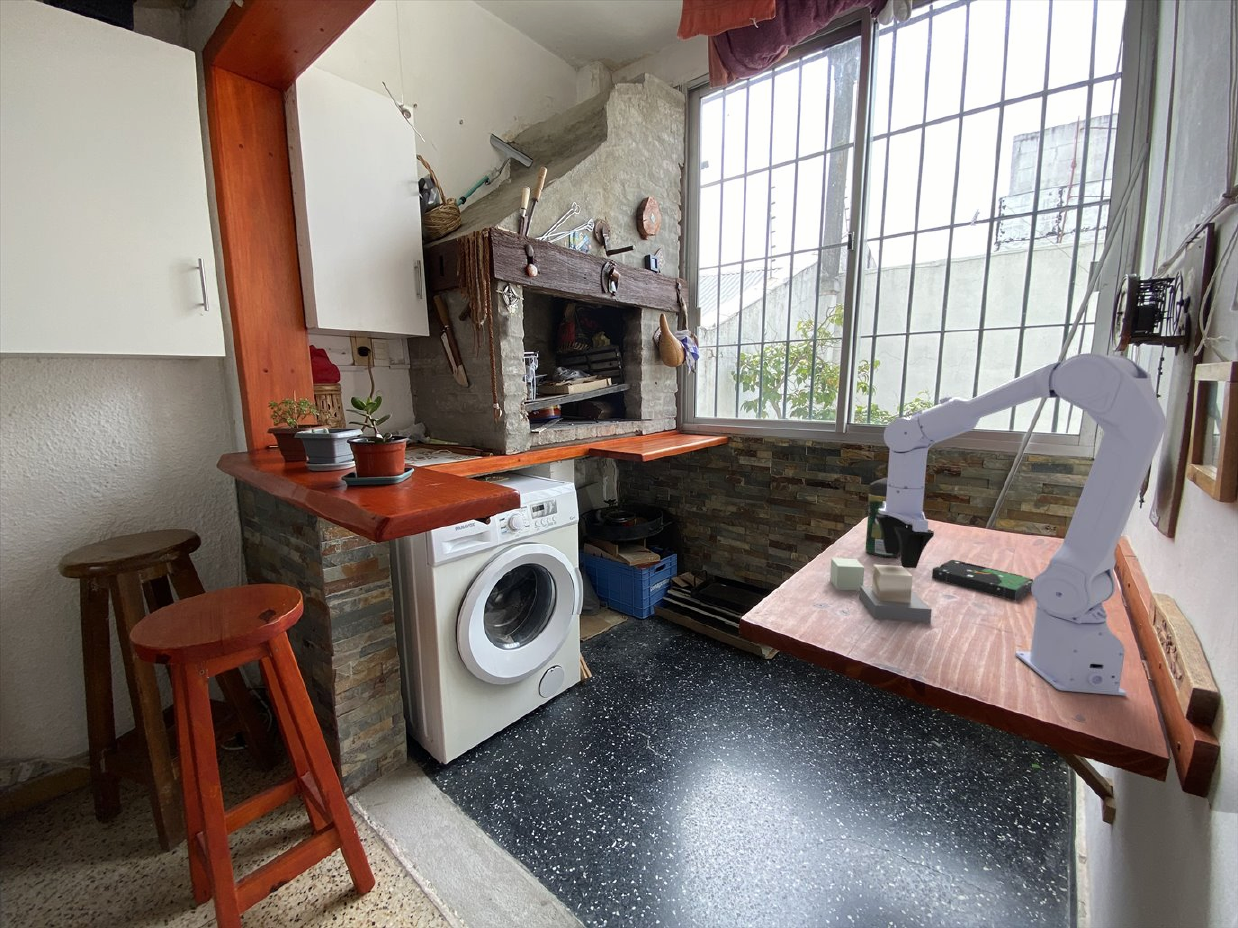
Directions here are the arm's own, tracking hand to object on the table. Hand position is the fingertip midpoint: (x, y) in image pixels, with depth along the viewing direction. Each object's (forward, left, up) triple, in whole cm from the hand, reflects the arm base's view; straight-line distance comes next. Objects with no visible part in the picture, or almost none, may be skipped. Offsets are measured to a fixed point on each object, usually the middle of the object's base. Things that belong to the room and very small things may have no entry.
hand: (900, 559), depth 88 cm
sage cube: (+11, +6, -10) cm, 15 cm away
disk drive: (+16, -22, -10) cm, 29 cm away
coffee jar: (+34, -9, -10) cm, 37 cm away
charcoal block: (0, +1, -10) cm, 10 cm away
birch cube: (0, +1, -7) cm, 7 cm away
